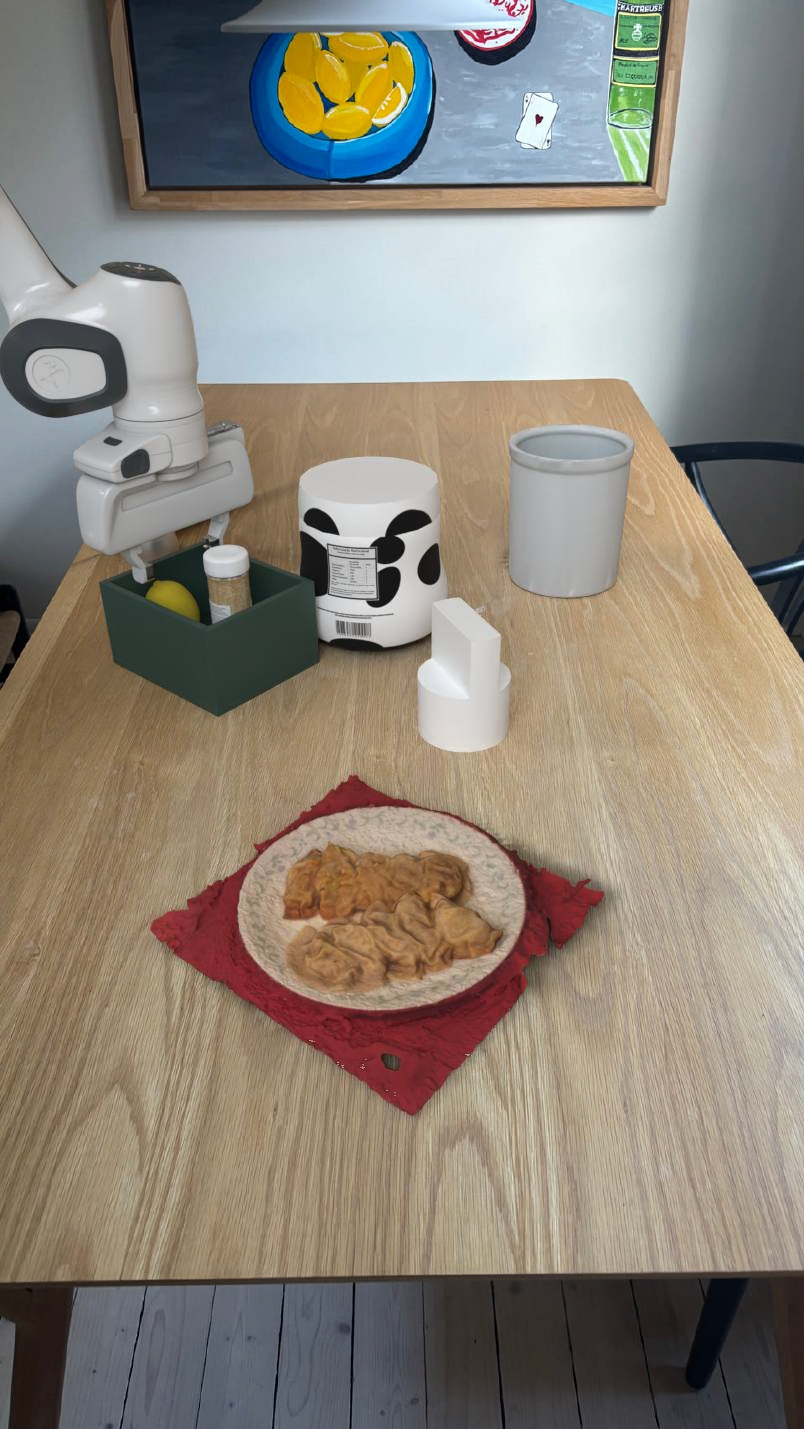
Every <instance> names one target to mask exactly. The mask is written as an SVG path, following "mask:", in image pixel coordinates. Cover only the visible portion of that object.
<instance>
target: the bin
mask: <svg viewBox="0 0 804 1429" xmlns="http://www.w3.org/2000/svg"><path fill="white" fill-rule="evenodd" d="M203 546H204V544H203V541H202V540H201V541H199V542H196V543H194V544H191V545H188V546H186V547H184V548H181V549H179V551H176V552H173V553H171V554H168V555H166V556H163V557H161V558H158V559H156V560H153V561H151V562H148V563H150V564H152V565H153V568H154V572H153V574H154V575H155V578H154V579H153V580H151V581H148V582H146V583H144V584H141V583H139V582H137V581H135V579H134V577H133V572H132V568H131V569H128V570H126V571H122V572H121V573H118V574H116V575H113V576H109V577H108V578H106V579H103V580H100V581H98V586H99V591H100V597H101V602H102V606H103V612H104V617H105V622H106V628H107V633H108V639H109V643H110V650H111V654H112V660H113V663H114V664H116V665H117V666H120V667H122V668H123V669H126V670H127V671H129V672H131V673H133V674H135V675H137V676H139V677H141V678H143V679H145V680H147V681H148V682H150V683H153V684H154V685H156V686H158V687H161V688H162V689H164V690H166V691H168V692H170V693H172V694H174V695H176V696H178V697H179V698H181V699H183V700H185V701H187V702H189V703H191V704H193V705H194V706H197V707H198V708H201V709H202V710H205V711H206V712H208V713H209V714H212V715H214V716H215V717H218V718H219V717H221V716H222V715H225V714H226V713H228V712H230V711H232V710H233V709H236V708H237V707H239V706H241V705H243V704H245V703H247V702H248V701H250V700H252V699H254V698H256V697H258V696H259V695H261V694H263V693H265V692H267V691H269V690H271V689H273V688H274V687H276V686H278V685H280V684H281V683H283V682H285V681H287V680H289V679H291V678H293V677H295V676H296V675H298V674H300V673H302V672H304V671H305V670H307V669H309V668H311V667H313V666H315V665H317V664H318V663H320V652H319V639H318V634H317V618H316V603H315V588H314V581H312V580H310V579H307V578H305V577H302V576H299V575H298V573H297V574H296V573H294V572H291V571H289V570H286V569H283V568H281V567H278V566H275V565H272V564H269V563H268V562H265V561H263V560H260V559H257V558H254V557H251V556H250V555H248V557H249V566H250V567H249V569H248V570H249V572H248V575H249V586H250V594H251V599H252V606H251V607H248V608H246V609H244V610H242V611H240V612H238V613H236V614H233V615H231V616H229V617H227V618H225V619H223V620H221V621H218V622H216V623H214V624H212V617H211V609H210V601H209V597H210V596H209V588H208V581H207V576H206V573H205V570H204V562H203V555H204V553H205V551H204V549H203ZM157 580H159V581H174V582H177V583H179V584H181V585H182V586H184V587H185V588H186V589H187V590H188V591H189V592H190V593H191V595H192V596H193V597H194V599H195V601H196V603H197V605H198V608H199V612H200V622H197V621H195V620H193V619H191V618H189V617H186V616H184V615H182V614H180V613H177V612H175V611H173V610H171V609H169V608H166V607H164V606H162V605H160V604H157V603H155V602H153V601H151V600H149V599H146V598H145V596H146V594H147V592H148V590H149V589H150V588H151V587H152V586H153V583H154V582H155V581H157Z"/></svg>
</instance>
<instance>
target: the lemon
mask: <svg viewBox="0 0 804 1429" xmlns="http://www.w3.org/2000/svg"><path fill="white" fill-rule="evenodd" d="M145 598H146V599H149V600H151V601H153V602H155V603H157V604H160V605H162V606H164V607H166V608H169V609H171V610H173V611H175V612H177V613H180V614H182V615H184V616H186V617H189V618H191V619H193V620H195V621H197V622H200V612H199V608H198V605H197V603H196V601H195V599H194V597H193V596H192V595H191V593H190V592H189V591H188V590H187V589H186V588H185V587H184V586H182V585H181V584H179V583H177V582H174V581H159V580H157V581H155V582H154V583H153V586H152V587H151V588H150V589H149V590H148V592H147V594H146V596H145Z"/></svg>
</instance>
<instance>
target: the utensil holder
mask: <svg viewBox="0 0 804 1429" xmlns="http://www.w3.org/2000/svg"><path fill="white" fill-rule="evenodd" d="M635 446H636V445H635V440H634V439H633V438H632V437H631V436H630V435H628V434H626V433H625V432H623V431H620V430H617V429H614V428H610V427H604V426H599V425H591V424H578V423H575V424H570V423H566V424H565V423H563V424H561V423H560V424H547V425H540V426H533V427H530V428H526V429H522V430H520V431H517V432H515V433H514V434H512V435H511V436H510V437H509V439H508V454H509V457H510V464H509V465H510V467H509V468H510V470H509V503H508V504H509V505H508V506H509V509H508V573H509V574H508V575H509V577H510V579H511V581H512V582H513V583H514V584H515V585H516V586H518V587H519V588H521V589H522V590H525V591H528V592H530V593H532V594H535V595H541V596H545V597H552V598H563V599H565V598H566V599H570V598H572V599H573V598H583V597H589V596H594V595H597V594H601V593H603V592H605V591H608V590H609V589H611V588H612V587H613V586H614V585H615V583H616V582H617V578H618V571H619V564H620V559H621V558H620V557H621V550H622V543H623V533H624V525H625V515H626V506H627V498H628V492H629V482H630V472H631V462H632V459H633V457H634V455H635Z"/></svg>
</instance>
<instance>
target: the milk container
mask: <svg viewBox="0 0 804 1429" xmlns="http://www.w3.org/2000/svg"><path fill="white" fill-rule="evenodd" d="M441 502H442V501H441V492H440V484H439V479H438V474H437V472H436V471H435V470H433V469H431V468H430V467H429V466H428V465H426V464H423V463H420V462H416V461H414V460H411V459H404V458H398V457H393V456H371V455H370V456H369V455H368V456H357V457H356V456H355V457H344V458H340V459H335V460H330V461H325V462H323V463H320V464H318V465H315V466H312V467H310V468H309V469H307V470H306V471H305V472H304V473H303V474H302V475H301V476H299V485H298V493H297V510H298V519H297V520H298V532H299V540H300V541H299V542H300V562H299V568H298V570H297V571H298V572H297V575H299V576H302V577H305V578H307V579H310V580H312V581H314V588H315V603H316V618H317V634H318V640H320V641H322V642H323V643H325V644H327V645H329V646H332V647H336V648H341V649H345V650H349V651H354V652H355V651H357V652H382V651H390V650H397V649H401V648H404V647H407V646H410V645H414V644H417V643H418V642H419V641H421V640H423V639H425V638H427V637H428V636H430V635H432V603H434V602H437V601H440V600H444V599H448V595H449V586H448V579H447V574H446V570H445V567H444V563H443V560H442V555H441V520H442V516H441V508H442V507H441V506H442V505H441V504H442V503H441Z"/></svg>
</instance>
